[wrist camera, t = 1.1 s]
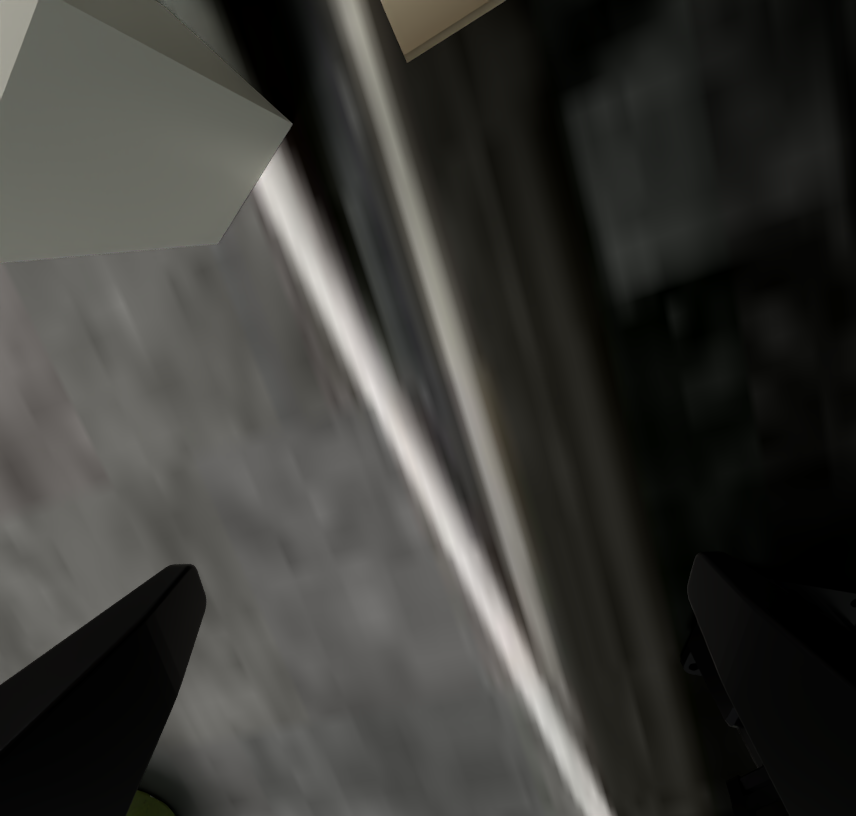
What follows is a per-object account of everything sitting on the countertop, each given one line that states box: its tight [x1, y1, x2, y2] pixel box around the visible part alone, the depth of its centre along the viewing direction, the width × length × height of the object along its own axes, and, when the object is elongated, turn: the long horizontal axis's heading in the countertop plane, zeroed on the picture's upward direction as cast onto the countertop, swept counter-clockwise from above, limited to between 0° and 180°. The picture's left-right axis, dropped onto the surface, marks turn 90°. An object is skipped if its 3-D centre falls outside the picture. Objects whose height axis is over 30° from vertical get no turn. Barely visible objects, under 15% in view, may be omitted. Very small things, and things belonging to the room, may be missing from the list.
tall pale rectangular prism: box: [0, 0, 293, 263], centre depth 12 cm, size 5×5×11 cm
